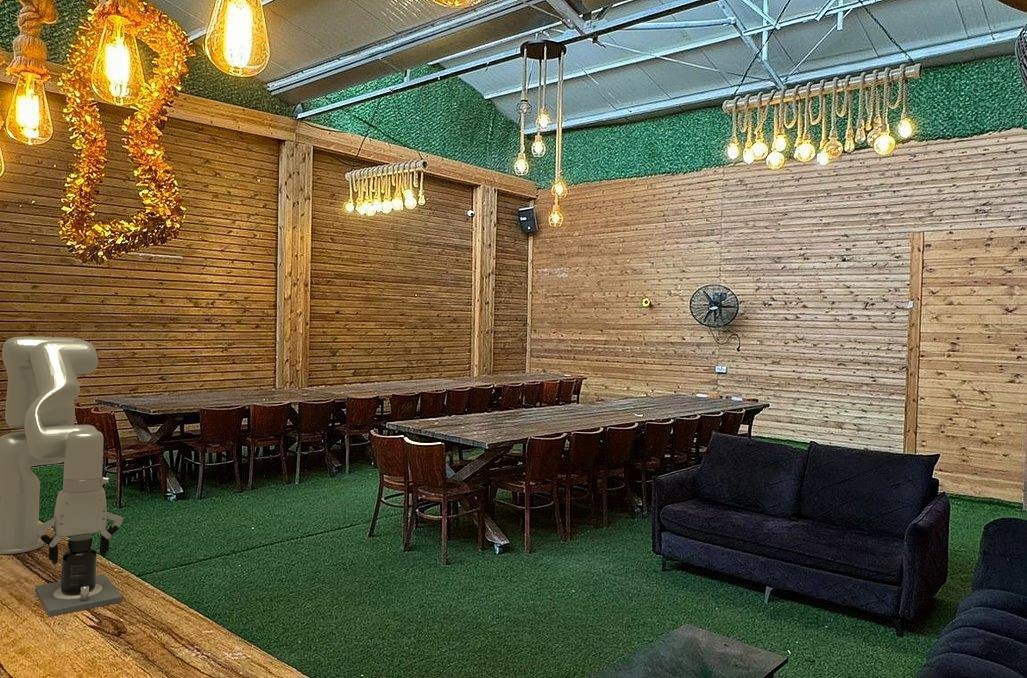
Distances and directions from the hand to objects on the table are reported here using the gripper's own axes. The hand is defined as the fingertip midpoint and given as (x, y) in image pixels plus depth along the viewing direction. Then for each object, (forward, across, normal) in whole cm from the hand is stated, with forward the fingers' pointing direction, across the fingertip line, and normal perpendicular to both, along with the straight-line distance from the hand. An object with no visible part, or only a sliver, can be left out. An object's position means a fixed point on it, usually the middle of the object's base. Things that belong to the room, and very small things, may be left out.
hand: (79, 558), depth 161 cm
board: (+9, 0, 0) cm, 9 cm away
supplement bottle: (+7, 0, 0) cm, 8 cm away
